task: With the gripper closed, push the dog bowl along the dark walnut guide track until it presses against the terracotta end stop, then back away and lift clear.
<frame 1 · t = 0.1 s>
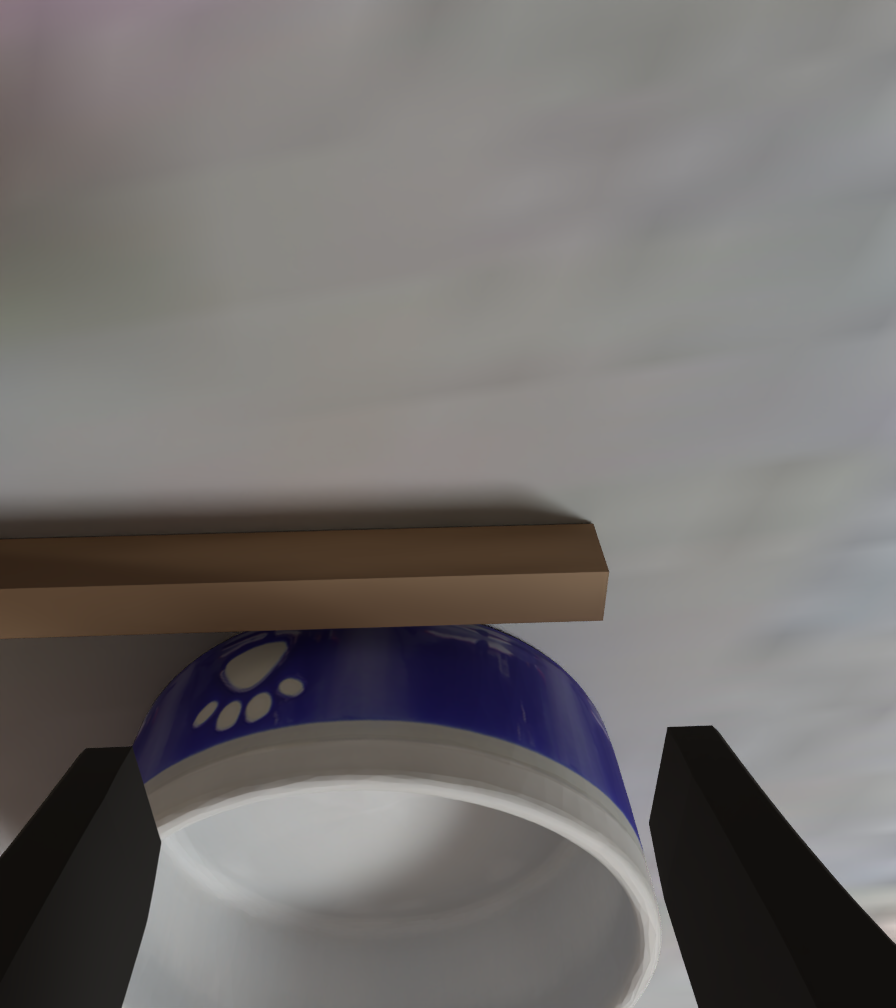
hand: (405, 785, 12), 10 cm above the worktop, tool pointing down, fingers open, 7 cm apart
bowl track: (152, 798, 27), on the worktop
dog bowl: (376, 778, 27), on the worktop
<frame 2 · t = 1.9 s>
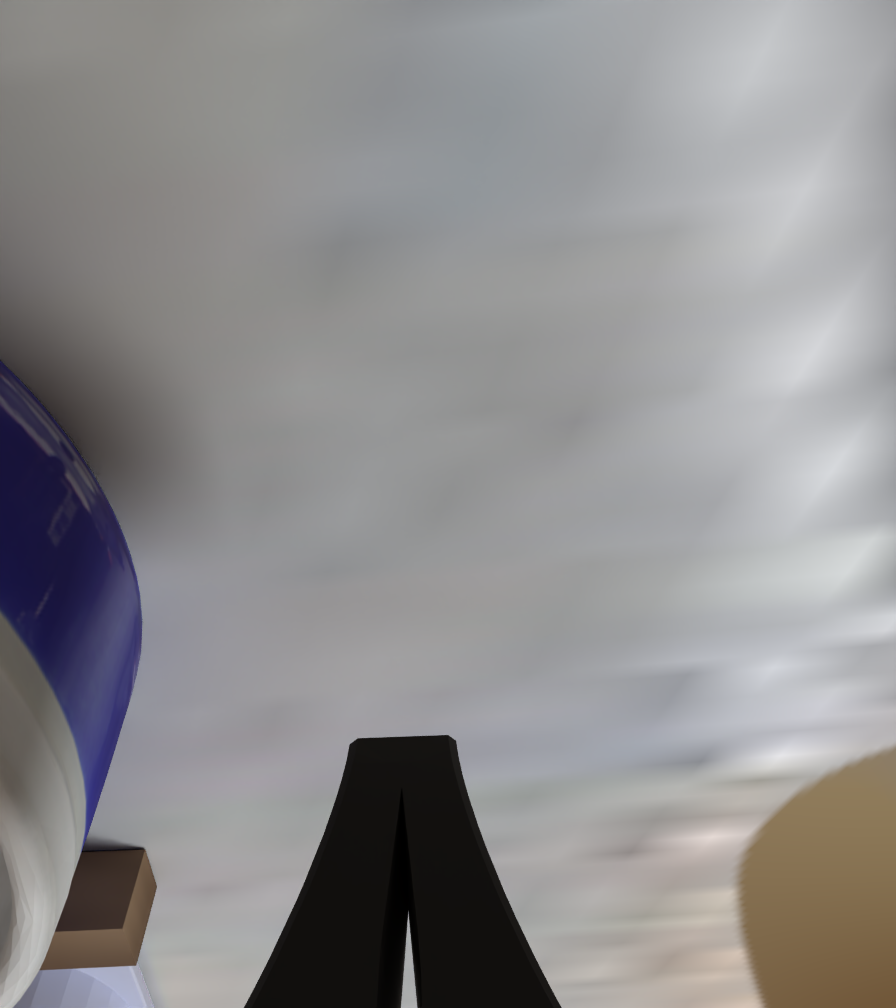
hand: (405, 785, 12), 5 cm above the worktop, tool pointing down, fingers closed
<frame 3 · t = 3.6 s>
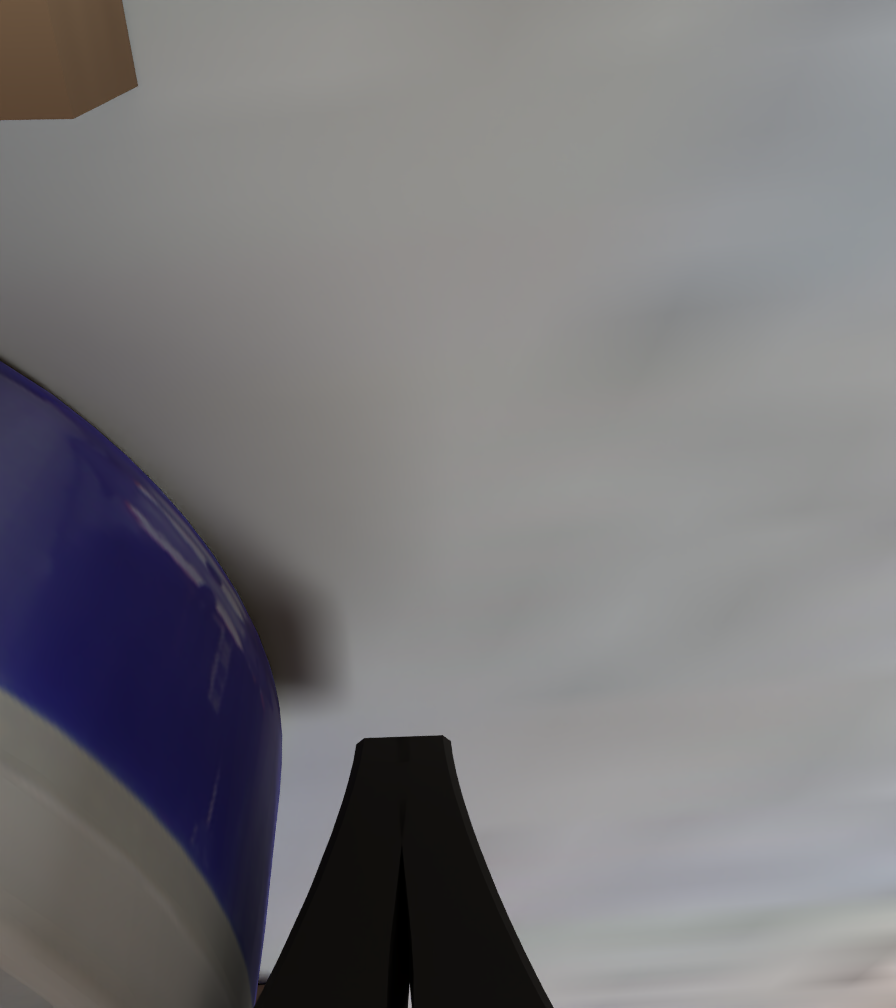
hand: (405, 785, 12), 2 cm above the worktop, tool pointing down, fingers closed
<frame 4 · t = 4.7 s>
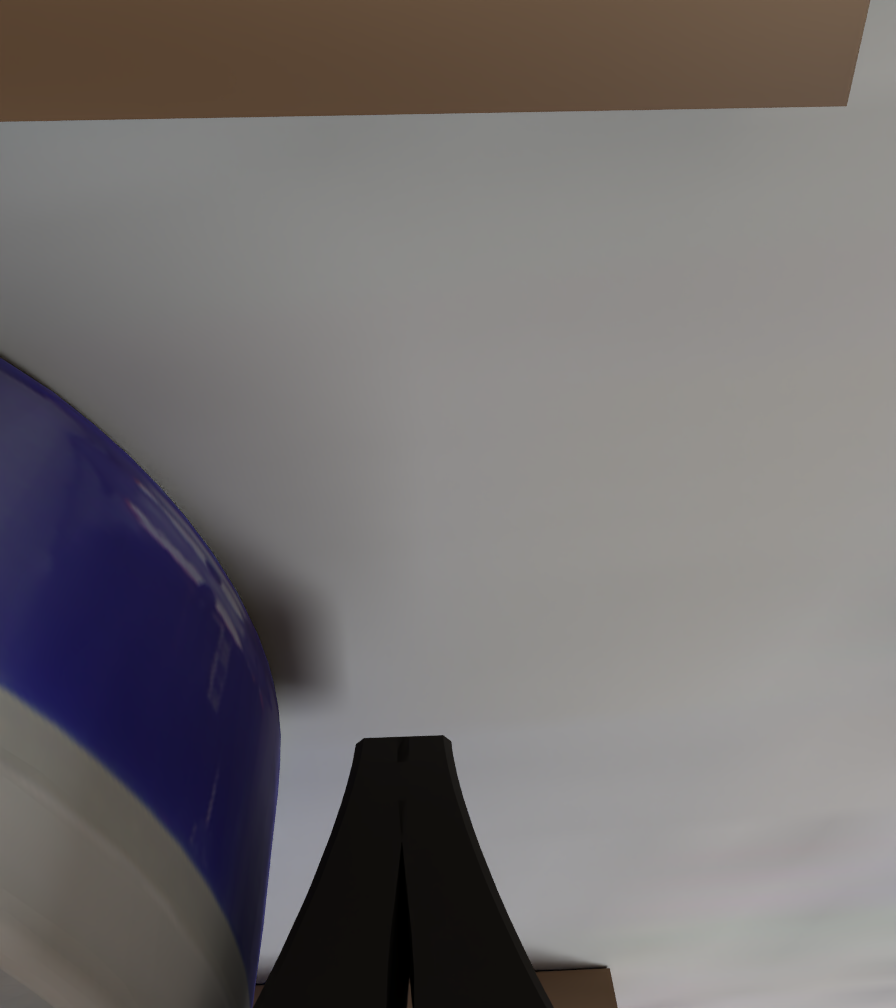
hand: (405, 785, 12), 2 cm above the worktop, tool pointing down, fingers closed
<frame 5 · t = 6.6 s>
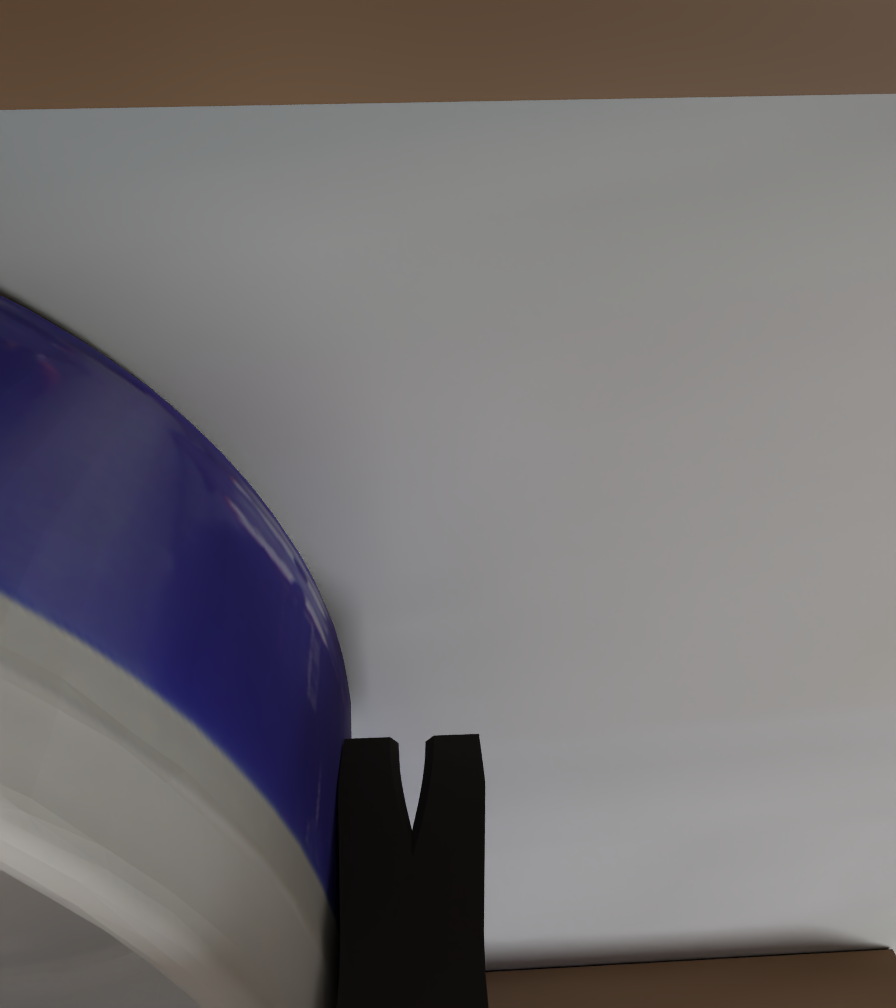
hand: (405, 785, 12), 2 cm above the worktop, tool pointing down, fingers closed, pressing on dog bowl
bowl track: (217, 691, 13), on the worktop
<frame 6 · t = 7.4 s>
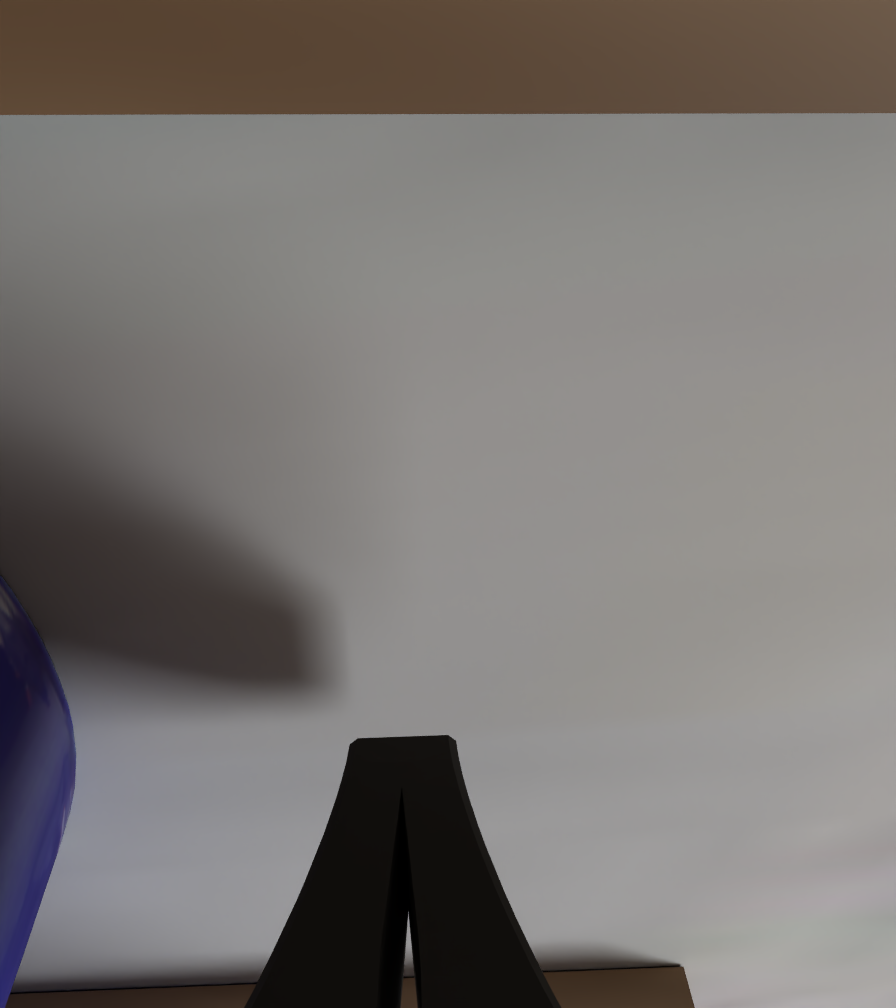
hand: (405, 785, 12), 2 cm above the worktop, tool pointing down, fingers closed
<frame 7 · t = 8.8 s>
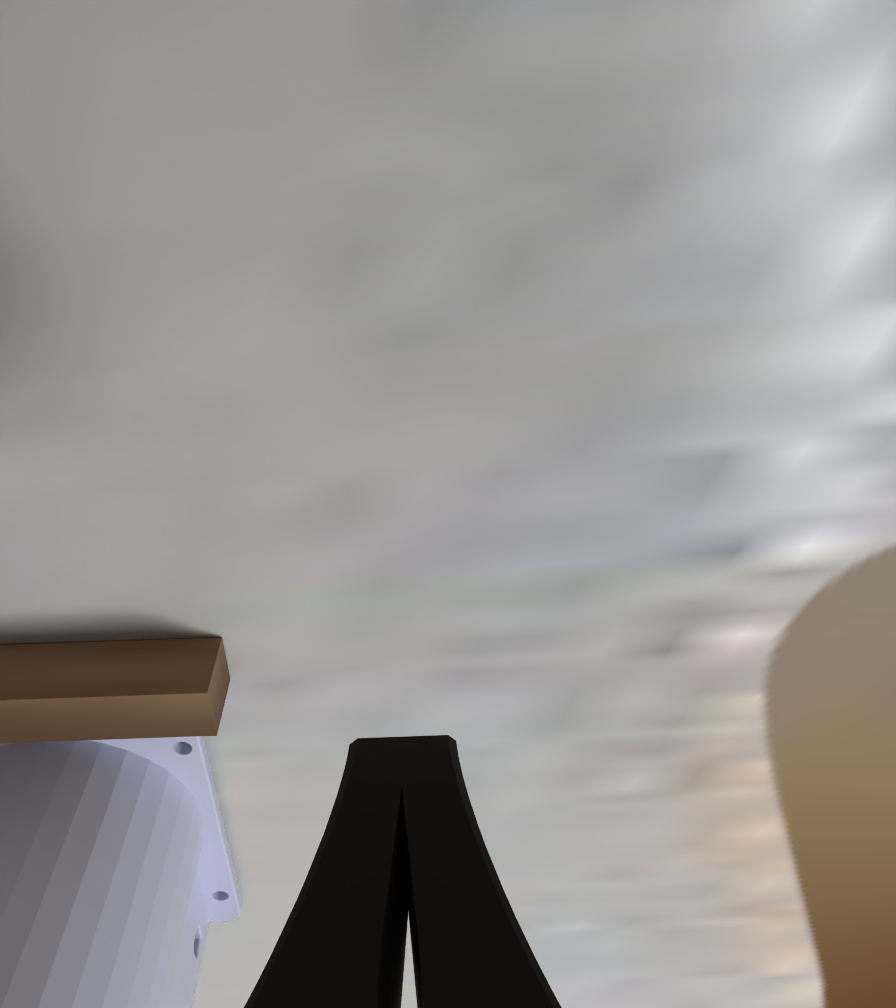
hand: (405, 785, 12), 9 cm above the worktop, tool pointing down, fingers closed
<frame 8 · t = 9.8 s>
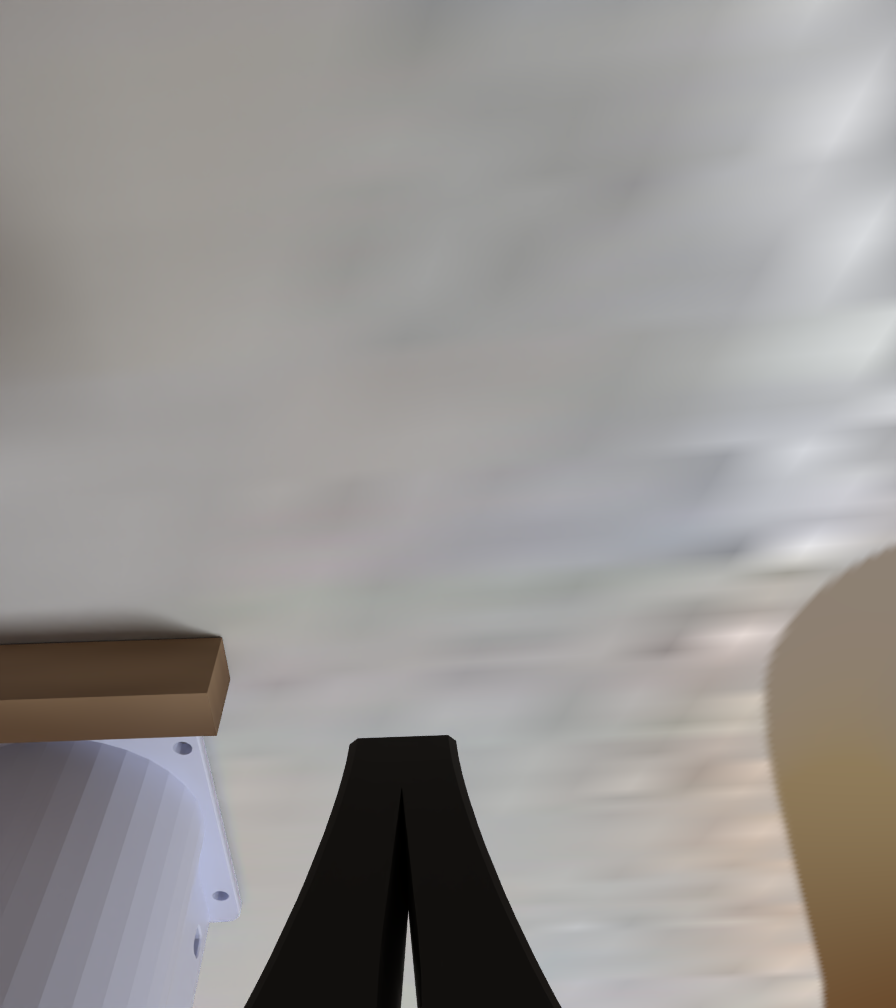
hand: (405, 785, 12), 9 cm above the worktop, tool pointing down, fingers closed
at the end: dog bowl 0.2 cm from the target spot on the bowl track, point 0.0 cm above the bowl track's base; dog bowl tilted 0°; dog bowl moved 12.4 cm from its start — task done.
